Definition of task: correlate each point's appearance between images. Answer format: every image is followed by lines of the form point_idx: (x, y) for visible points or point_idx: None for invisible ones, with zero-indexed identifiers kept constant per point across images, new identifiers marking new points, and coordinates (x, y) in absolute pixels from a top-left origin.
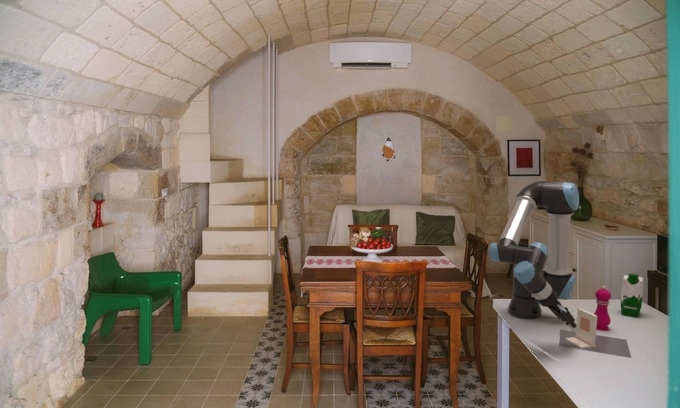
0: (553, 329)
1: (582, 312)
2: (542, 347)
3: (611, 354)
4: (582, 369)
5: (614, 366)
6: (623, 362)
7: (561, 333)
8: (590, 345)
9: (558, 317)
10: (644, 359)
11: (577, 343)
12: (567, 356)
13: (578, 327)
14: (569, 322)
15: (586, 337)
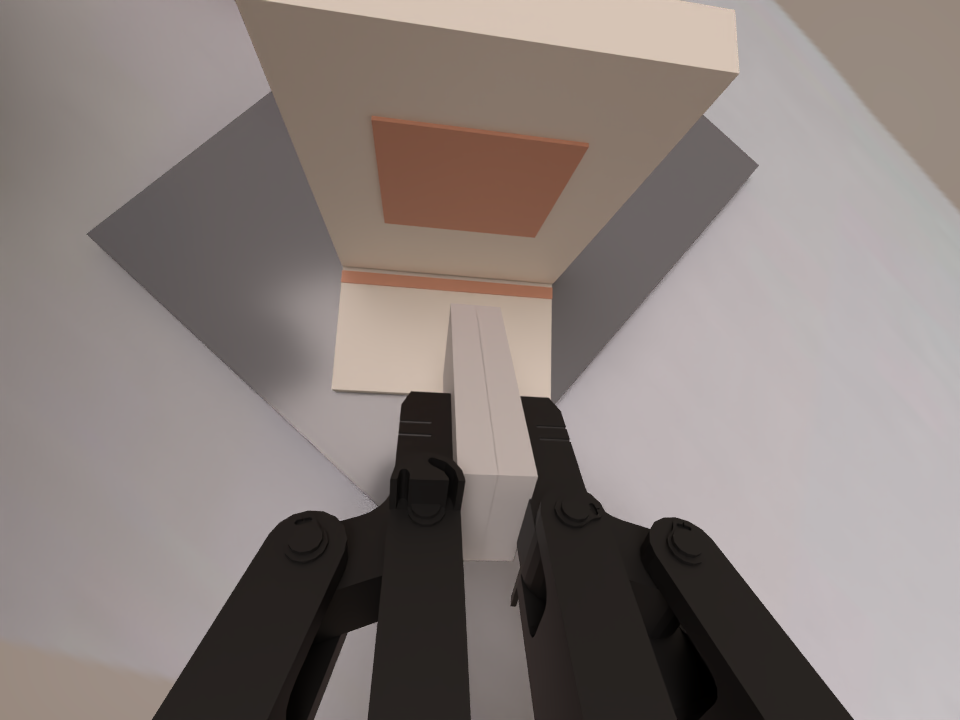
0: (25, 264)
1: (399, 53)
2: (365, 707)
3: (686, 249)
4: (813, 648)
5: (803, 363)
6: (761, 251)
7: (185, 305)
8: (547, 296)
9: (319, 653)
10: (746, 85)
11: None
12: None
13: (504, 336)
14: (702, 685)
15: (487, 260)
